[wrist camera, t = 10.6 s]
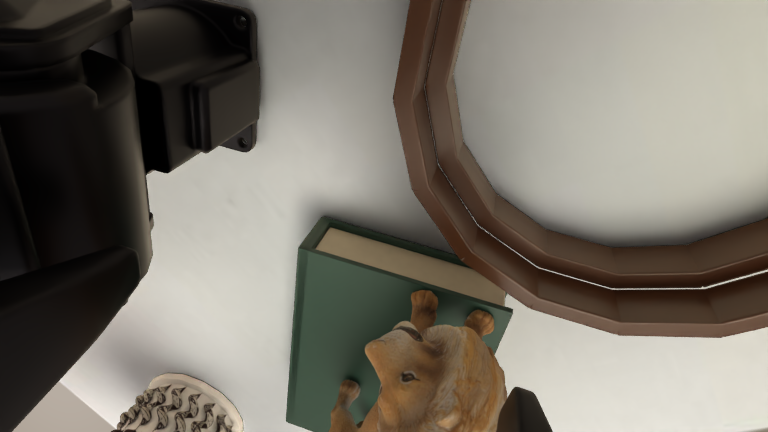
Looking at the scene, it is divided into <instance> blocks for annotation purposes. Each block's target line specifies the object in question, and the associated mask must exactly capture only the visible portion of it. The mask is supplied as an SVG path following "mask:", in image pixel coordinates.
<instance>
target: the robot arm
mask: <svg viewBox="0 0 768 432" xmlns="http://www.w3.org/2000/svg"><path fill="white" fill-rule="evenodd" d="M241 16H242V17H244V18H245V20H246V23H247V25H246V27H244V26H243V25H242V24H241V20H240V19H241ZM256 58H257V22H256V18H255V16H254V14H253V13H252V12H251V11H250V10H248V9H246V8H242V7H238V6H234V5H230V4H225V3H221V2H217V1H212V0H0V432H12V431H13V430H14V429H15V428H16V427H17V426H18V425H19V423H20V422H21V421H22V420H23V419H24V418H25V417H26V416H27V415H28V414H29V413H30V412H31V410H32V409H33V408H34V407H35V406H36V405H37V404H38V403H39V402H40V401H41V400H42V399H43V397H44V396H45V395H46V394H47V393H48V392H49V391H50V390H51V389H52V387H54V385H55V384H56V383H57V382H58V381H59V380H60V379H61V378H62V377H63V376H64V375H65V374H66V373H67V371H68V370H69V369H70V368H71V367H72V366H73V365H74V364H75V363H76V362H77V361H78V360H79V358H80V357H81V356H82V355H83V354H84V353H85V352H86V351H87V350H88V349H89V348H90V346H91V345H92V344H93V343H94V342H95V341H96V340H97V339H98V337H99V336H100V335H101V334H102V332H103V331H104V330H105V329H106V327H107V326H108V325H109V323H110V322H111V321H112V319H113V318H114V317H115V315H116V314H117V313H118V311H119V310H120V309H121V307H122V306H124V305H125V304H126V303H127V302H128V298H129V297H130V295H131V294H132V293H133V291H134V290H135V289H136V287H137V286H138V284H139V282H140V281H141V279H142V278H143V277H144V276H145V275H146V273H147V272H148V268H149V265H150V262H151V259H152V256H153V251H152V241H151V230H152V228H153V226H154V222H153V214H152V213H151V212H150V209H149V200H148V190H147V180H146V175H147V174H149V173H151V172H152V171H154V170H156V171H159V172H163V173H169V172H171V171H172V170H174V169H175V168H177V167H178V166H180V165H182V164H183V163H185V162H186V161H188V160H189V159H191V158H192V157H194V156H196V155H197V154H199V153H200V152H203V153H209V152H210V151H212V150H213V149H215V148H216V147H218V146H223V147H226V148H230V149H233V150H237V151H240V152H248V151H250V150H251V149H253V148H254V147H255V144H256V121H257V120H258V119H259V83H260V67H259V65H258V64H257V62H256ZM242 138H244V139H245V140H246V141H247V144H245V143H244V142H243V141H242ZM496 432H553V431H552V429H551V427H550V425H549V423H548V421H547V418H546V416H545V414H544V412H543V410H542V408H541V406H540V403H539V401H538V399H537V397H536V395H535V394H534V393H533V392H531V391H528V390H525V389H523V388H520V387H515V388H514V389H513V390H512V391H511V393H510V395H509V396H508V398H507V400H506V401H505V403H504V405H503V406H502V408H501V411H500V413H499V417H498V423H497V429H496Z"/></svg>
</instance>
